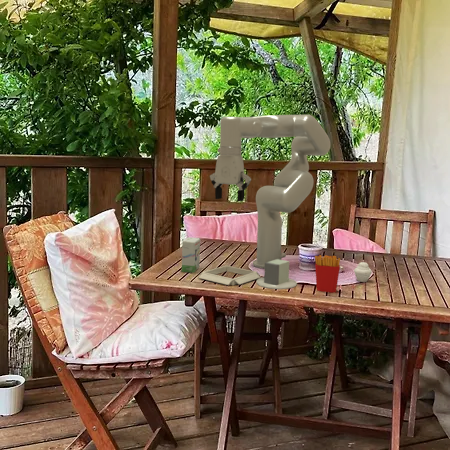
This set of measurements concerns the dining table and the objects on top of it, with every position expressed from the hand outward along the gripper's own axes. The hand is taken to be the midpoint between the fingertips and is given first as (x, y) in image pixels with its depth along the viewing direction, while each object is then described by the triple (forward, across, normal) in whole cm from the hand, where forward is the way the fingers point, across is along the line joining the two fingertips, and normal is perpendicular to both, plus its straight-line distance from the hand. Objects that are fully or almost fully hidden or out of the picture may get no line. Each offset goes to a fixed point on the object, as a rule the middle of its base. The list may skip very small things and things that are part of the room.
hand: (229, 199), depth 192 cm
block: (+27, +20, +1) cm, 34 cm away
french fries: (+28, +38, +4) cm, 47 cm away
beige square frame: (+28, +3, -3) cm, 28 cm away
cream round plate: (+28, +20, +1) cm, 34 cm away
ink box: (+28, -15, -3) cm, 32 cm away
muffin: (+28, +43, +23) cm, 56 cm away
